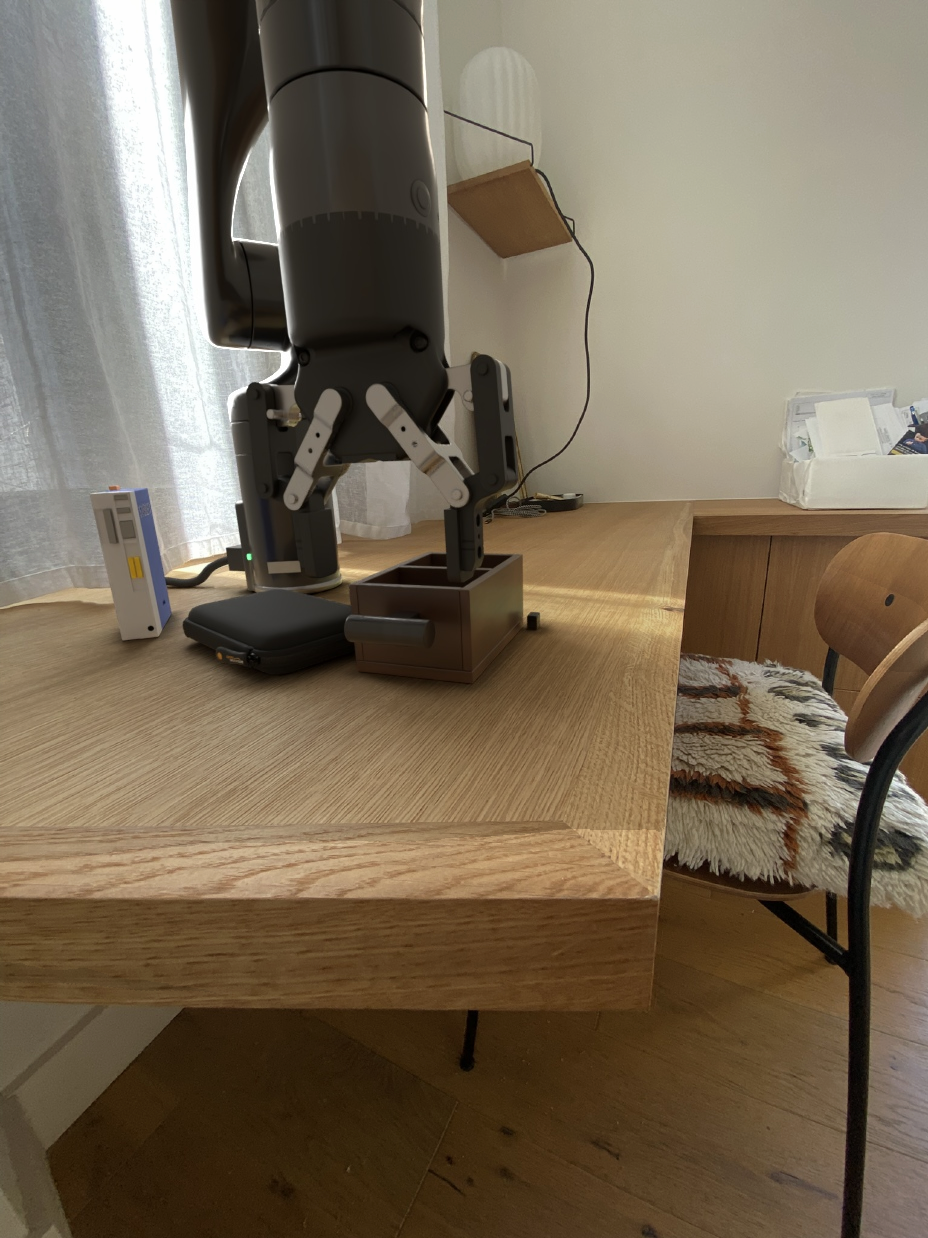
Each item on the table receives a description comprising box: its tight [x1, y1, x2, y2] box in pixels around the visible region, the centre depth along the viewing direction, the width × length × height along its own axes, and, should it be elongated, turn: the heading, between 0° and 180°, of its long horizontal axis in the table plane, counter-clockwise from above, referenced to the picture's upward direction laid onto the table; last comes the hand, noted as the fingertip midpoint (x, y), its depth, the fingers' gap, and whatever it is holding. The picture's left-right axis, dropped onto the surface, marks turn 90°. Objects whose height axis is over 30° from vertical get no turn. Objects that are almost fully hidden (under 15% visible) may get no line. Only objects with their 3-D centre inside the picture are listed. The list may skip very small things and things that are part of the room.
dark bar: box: [526, 611, 541, 631], centre depth 45 cm, size 10×1×1 cm, turn 70°
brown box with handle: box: [344, 551, 524, 685], centre depth 38 cm, size 15×8×6 cm, turn 160°
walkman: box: [89, 485, 173, 641], centre depth 47 cm, size 8×3×12 cm, turn 20°
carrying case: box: [181, 589, 355, 675], centre depth 41 cm, size 11×3×15 cm
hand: (388, 577), depth 30 cm, fingers open, 8 cm apart
